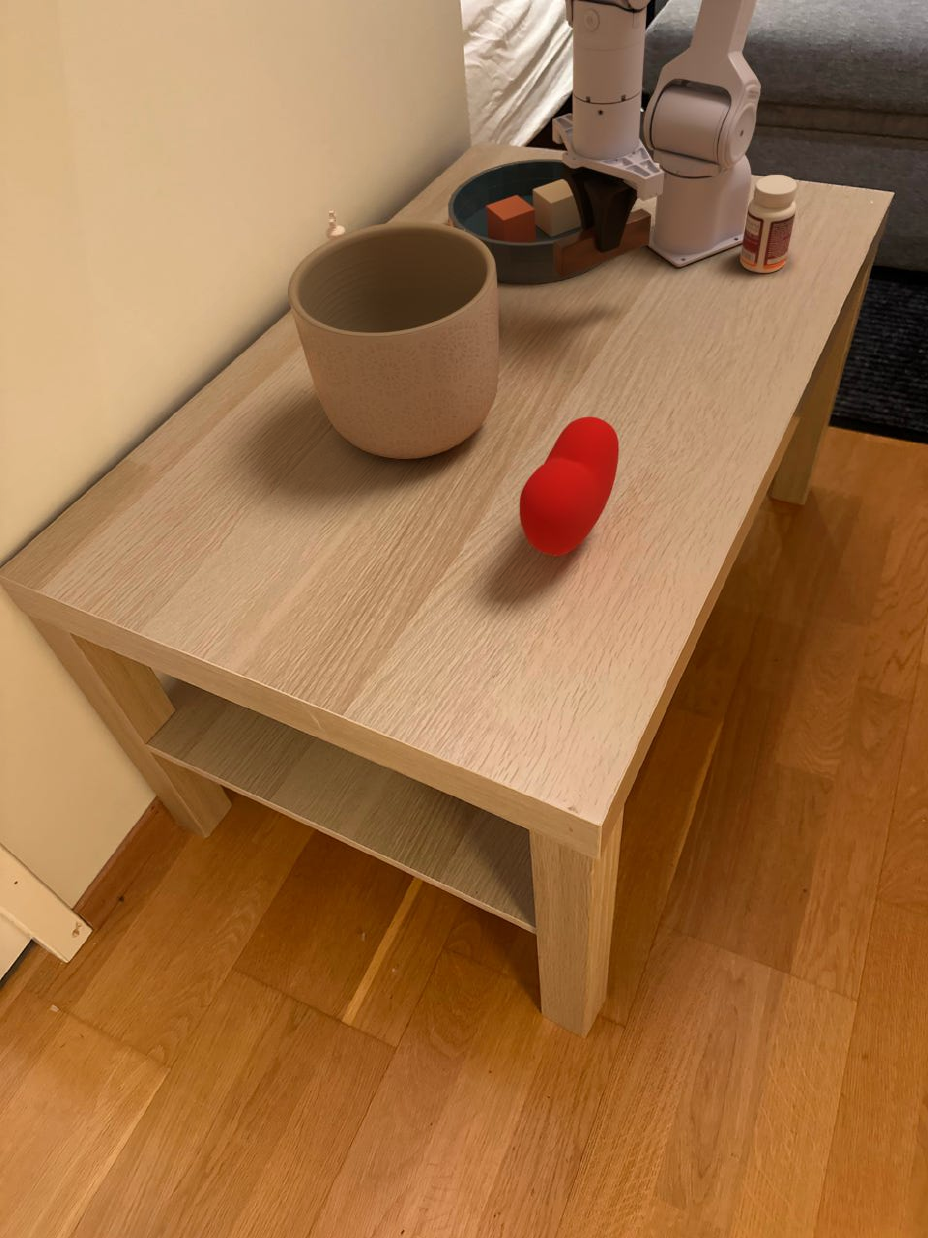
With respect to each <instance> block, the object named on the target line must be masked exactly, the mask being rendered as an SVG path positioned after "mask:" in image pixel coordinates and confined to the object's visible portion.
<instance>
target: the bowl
mask: <svg viewBox="0 0 928 1238" xmlns="http://www.w3.org/2000/svg"><path fill="white" fill-rule="evenodd" d="M564 165H565V164H564V163H563V162H562V159H557V158H552V159H551V158H547V159H545V158H544V159H543V158H539V159H538V158H537V159H526V160H518V161H512V162H509V163H504V164H499V165H497V166H494V167H490V168H487V169H485V170H482V171H480V172H479V173H476V174H475V175H473V176H471V177H468V178H467V179H466V180H465V181H463V182H462V183H461V184H459V186H457V188H456V189H455V190H454V191H453V192H452V194H451V195H450V198H449V201H448V203H447V214H448V215H447V216H448V223H449V225H448V226H451V227H454V228H457V229H460V230H463V231H465V232H467V233H469V234H471V235H473V236H475V237H476V238H478V239H479V240H480V241H482V242H483V243H484V244H485V245H486V246H487V247H488V249H489V250H490V252H491V253H492V255H493V257H494V260H495V265H496V274H497V282H498V283H499V282H500V283H505V284H512V285H513V284H515V285H539V284H548V283H554V282H560V281H564V280H568V279H571V278H574V277H576V276H580V275H582V274H584V273H587V272H588V271H591V270H593V269H594V268H597V267H598V266H599V265H601V264H602V263H599V264H597V265H594V266H591V267H589V268H586V269H584V270H581V271H579V272H576V273H573V274H571V275H568V276H566V277H563V278H562V277H561V276H559V275H558V274H557V273H556V272H555V271H554V261H553V242H554V241H556V240H559V239H562V238H564V237H567V236H570V235H572V234H575V233H578V232H580V231H583V229H582V224H581V226H580V227H578V228H575V229H572V230H570V231H567V232H564V233H562V234H559V235H556V236H553V237H550V236H549V235H548V234H547V233H545V232H544V231H543V230H542V229H540V228H539V227H538V226H537V225H535V232H536V242H532V243H520V242H506V241H499V240H493V239H490V238H488V225H487V211H486V206H487V205H490V204H492V203H495V202H498V201H501V200H504V199H507V198H509V197H512V196H515V195H518V196H519V197H520V198H522V199H523V200H524V201H525V202H527V203H528V204H529V205H530V206H532V207H533V189H535V188H538V187H541V186H544V185H547V184H549V183H552V182H555V181H558V180H561V179H564V180H565V181H566V179H565V178H564V176H563V174H562V167H563V166H564ZM566 182H567V181H566Z"/></svg>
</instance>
